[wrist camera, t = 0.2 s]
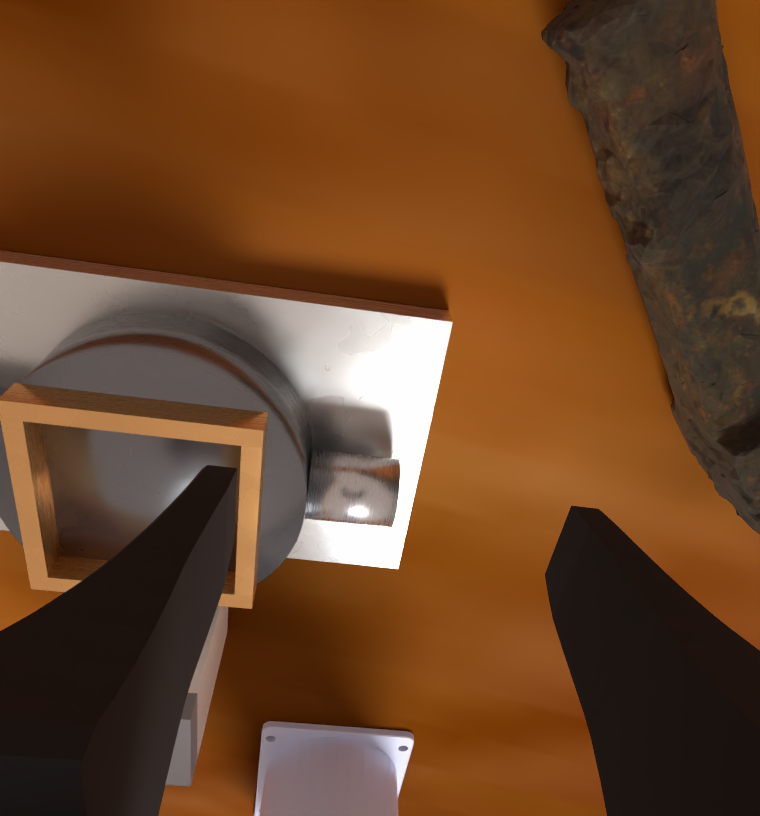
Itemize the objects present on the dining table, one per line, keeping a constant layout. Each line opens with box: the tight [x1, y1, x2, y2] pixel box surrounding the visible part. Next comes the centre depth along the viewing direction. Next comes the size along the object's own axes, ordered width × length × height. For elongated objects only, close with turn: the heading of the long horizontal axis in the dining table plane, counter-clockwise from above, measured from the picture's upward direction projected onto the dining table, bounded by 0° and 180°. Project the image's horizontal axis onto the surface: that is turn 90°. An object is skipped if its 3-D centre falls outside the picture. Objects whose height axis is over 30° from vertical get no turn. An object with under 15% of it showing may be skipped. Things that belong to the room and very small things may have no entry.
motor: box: [0, 250, 452, 609], centre depth 21 cm, size 11×18×5 cm, turn 82°
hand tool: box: [541, 0, 760, 534], centre depth 19 cm, size 19×4×5 cm, turn 24°
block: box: [165, 606, 228, 786], centre depth 25 cm, size 4×4×7 cm
